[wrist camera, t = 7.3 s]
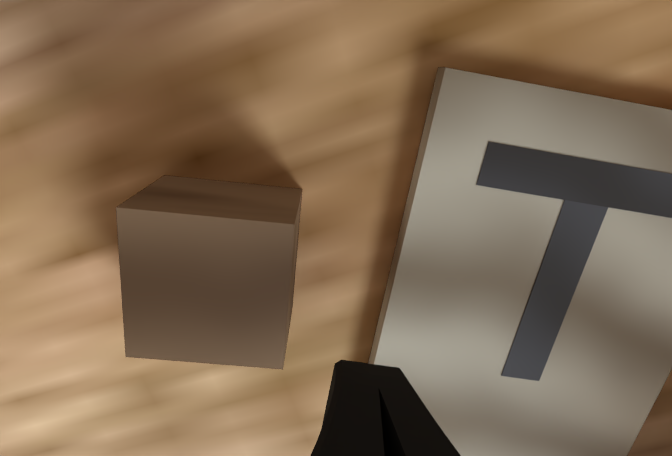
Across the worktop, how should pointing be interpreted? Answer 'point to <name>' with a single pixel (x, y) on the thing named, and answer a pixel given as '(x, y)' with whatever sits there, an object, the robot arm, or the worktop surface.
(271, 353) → the walnut block
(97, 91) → the worktop surface
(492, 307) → the letter board
